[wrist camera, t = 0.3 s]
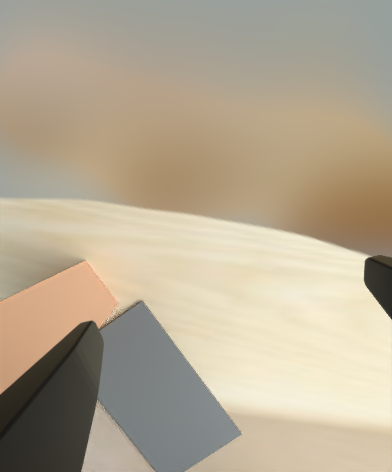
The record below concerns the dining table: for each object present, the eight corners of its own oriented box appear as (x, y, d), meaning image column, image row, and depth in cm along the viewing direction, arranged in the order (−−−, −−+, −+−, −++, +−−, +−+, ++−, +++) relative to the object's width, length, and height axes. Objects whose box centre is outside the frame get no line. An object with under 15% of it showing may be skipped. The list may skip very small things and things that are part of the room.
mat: (240, 431, 26) (241, 434, 26) (165, 480, 26) (165, 483, 26) (142, 300, 24) (141, 301, 24) (64, 354, 25) (63, 355, 24)
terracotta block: (118, 303, 24) (19, 431, 10) (75, 333, 25) (-78, 497, 11) (85, 260, 24) (-65, 332, 10) (41, 291, 24) (-165, 403, 10)
